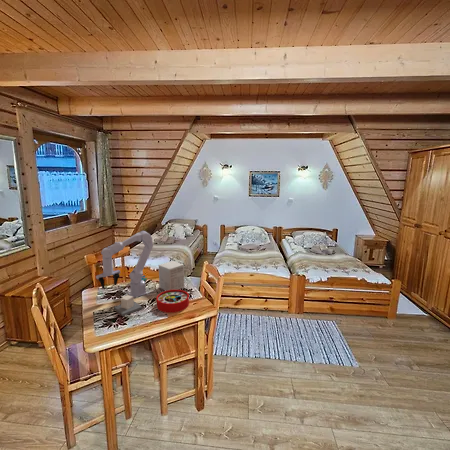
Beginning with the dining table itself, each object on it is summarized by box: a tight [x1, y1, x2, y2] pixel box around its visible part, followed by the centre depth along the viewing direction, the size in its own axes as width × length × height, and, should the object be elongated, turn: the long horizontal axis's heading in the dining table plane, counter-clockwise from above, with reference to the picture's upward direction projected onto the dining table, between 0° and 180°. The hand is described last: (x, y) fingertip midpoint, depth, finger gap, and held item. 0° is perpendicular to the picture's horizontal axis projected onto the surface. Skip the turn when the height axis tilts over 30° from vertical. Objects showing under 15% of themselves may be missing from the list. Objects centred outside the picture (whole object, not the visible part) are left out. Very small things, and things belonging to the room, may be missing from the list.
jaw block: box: [120, 294, 135, 309], centre depth 157 cm, size 5×5×6 cm
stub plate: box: [113, 301, 143, 317], centre depth 157 cm, size 12×12×5 cm
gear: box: [142, 274, 148, 283], centre depth 196 cm, size 11×6×10 cm
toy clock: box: [156, 289, 190, 314], centre depth 163 cm, size 20×6×20 cm
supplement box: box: [158, 260, 185, 291], centre depth 187 cm, size 13×13×18 cm
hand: (109, 286), depth 167 cm, fingers open, 7 cm apart
